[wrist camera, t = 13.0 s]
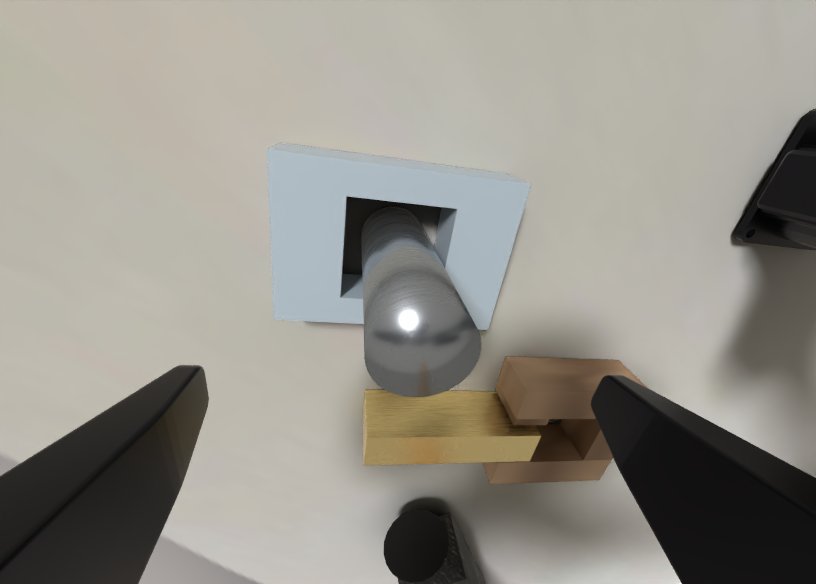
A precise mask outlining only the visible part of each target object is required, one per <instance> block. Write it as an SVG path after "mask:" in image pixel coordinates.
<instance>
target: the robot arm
mask: <svg viewBox="0 0 816 584" xmlns="http://www.w3.org/2000/svg"><path fill="white" fill-rule="evenodd" d="M734 237H735V238H736V239H737V240H740V241H743V242H747V243H756V244H765V245H774V246H783V247H791V248H800V249H809V250H816V109H813V110H811V111H809V112H808V113H807V114H806V115H805V116H804V118H803V119H802V121H801V122H800V124H799V126H798V127H797V129H796V131H795V132H794V134H793V136H792V137H791V139H790V141H789V142H788V144H787V146H786V147H785V149H784V151H783V152H782V154H781V156H780V157H779V159H778V161H777V163H776V164H775V166H774V168H773V169H772V171H771V173H770V174H769V176H768V178H767V179H766V181H765V183H764V184H763V186H762V188H761V189H760V191H759V193H758V194H757V196H756V198H755V199H754V201H753V203H752V204H751V206H750V208H749V209H748V211H747V213H746V214H745V216H744V218H743V219H742V221H741V223H740V224H739V226H738V228H737V229H736V231H735V236H734ZM208 401H209V397H208V390H207V384H206V378H205V372H204V369H203V367H201V366H198V365H179V366H177V367H175V368H173V369H171V370H170V371H168V372H167V373H165V374H163V375H162V376H160V377H159V378H157V379H155V380H154V381H152V382H151V383H149V384H147V385H146V386H144V387H142V388H141V389H139V390H138V391H136V392H134V393H133V394H131V395H130V396H128V397H126V398H125V399H123V400H122V401H120V402H118V403H117V404H115V405H114V406H112V407H110V408H109V409H107V410H106V411H104V412H102V413H101V414H99V415H97V416H96V417H94V418H93V419H91V420H89V421H88V422H86V423H85V424H83V425H81V426H80V427H78V428H77V429H75V430H73V431H72V432H70V433H69V434H67V435H65V436H64V437H62V438H61V439H59V440H57V441H56V442H54V443H52V444H51V445H49V446H48V447H46V448H44V449H43V450H41V451H40V452H38V453H36V454H35V455H33V456H32V457H30V458H28V459H27V460H25V461H24V462H22V463H20V464H19V465H17V466H16V467H14V468H12V469H11V470H9V471H8V472H6V473H4V474H3V475H1V476H0V584H138V583H139V581H140V579H141V576H142V574H143V572H144V570H145V568H146V565H147V563H148V561H149V559H150V556H151V554H152V552H153V550H154V547H155V545H156V543H157V541H158V539H159V536H160V534H161V532H162V530H163V527H164V525H165V523H166V521H167V519H168V516H169V514H170V512H171V510H172V507H173V505H174V503H175V501H176V498H177V496H178V494H179V491H180V489H181V486H182V484H183V481H184V478H185V475H186V472H187V469H188V466H189V463H190V460H191V457H192V454H193V451H194V448H195V445H196V442H197V438H198V435H199V432H200V429H201V426H202V423H203V420H204V417H205V414H206V411H207V407H208ZM591 409H592V411H593V413H594V416H595V418H596V420H597V422H598V425H599V427H600V429H601V431H602V433H603V436H604V438H605V440H606V442H607V445H608V447H609V449H610V451H611V454H612V456H613V458H614V460H615V462H616V464H617V466H618V469H619V471H620V472H621V474H622V476H623V478H624V480H625V482H626V484H627V485H628V487H629V489H630V491H631V493H632V495H633V496H634V498H635V500H636V502H637V504H638V505H639V507H640V509H641V511H642V513H643V514H644V516H645V518H646V520H647V522H648V523H649V525H650V527H651V529H652V531H653V532H654V534H655V536H656V538H657V540H658V541H659V543H660V545H661V547H662V549H663V550H664V552H665V554H666V556H667V558H668V560H669V561H670V563H671V565H672V567H673V569H674V570H675V572H676V574H677V576H678V578H679V579H680V581H681V583H682V584H816V478H815V477H813V476H811V475H809V474H807V473H805V472H803V471H801V470H800V469H798V468H796V467H794V466H792V465H790V464H788V463H786V462H785V461H783V460H781V459H779V458H777V457H775V456H773V455H772V454H770V453H768V452H766V451H764V450H762V449H760V448H758V447H757V446H755V445H753V444H751V443H749V442H747V441H745V440H743V439H742V438H740V437H738V436H736V435H734V434H732V433H730V432H728V431H727V430H725V429H723V428H721V427H719V426H717V425H715V424H713V423H712V422H710V421H708V420H706V419H704V418H702V417H700V416H698V415H697V414H695V413H693V412H691V411H689V410H687V409H685V408H684V407H682V406H680V405H678V404H676V403H674V402H672V401H670V400H669V399H667V398H665V397H663V396H661V395H659V394H657V393H655V392H654V391H652V390H650V389H648V388H646V387H644V386H642V385H640V384H639V383H637V382H635V381H633V380H631V379H629V378H627V377H625V376H623V375H605V376H604V377H603V378H602V379H601V381H600V383H599V385H598V386H597V388H596V390H595V392H594V394H593V396H592V398H591Z"/></svg>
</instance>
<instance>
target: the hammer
mask: <svg viewBox="0 0 816 584" xmlns="http://www.w3.org/2000/svg"><path fill="white" fill-rule="evenodd" d="M384 557H385V560H386V564H387V566H388V568H389V569H390V571H391V572H392V574H394V575H395V576H396V577H398V582H399V584H485V581H484V578H483V576H482V574H481V571H480V569H479V567H478V565H477V563H476V562H475V560H474V558H473V556H472V554H471V551H470V549H469V547H468V545H467V543H466V541H465V539H464V537H463V534H462V533H461V531H460V529H459V527H458V526H457V524H456V522H455V521H454V519H453V517H452V515H451V514H450V513H448V514H445V515H441V516H437V515H435V514H434V513H432V512H430V511H427V510H422V509H417V510H411V511H408V512H406V513H404V514H402V515H401V516H400V517H398V518H397V519H396V520H395V521H394V522H393V524H392V525H391V527H390V528H389V530H388V532H387V535H386V538H385V541H384Z"/></svg>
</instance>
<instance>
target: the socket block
mask: <svg viewBox="0 0 816 584" xmlns="http://www.w3.org/2000/svg"><path fill="white" fill-rule="evenodd" d="M605 375H623V376H625V377H627V378H629V379H631V380H633V381H635V382H637V383H639V384H640V385H642V386H644V387H646V386H645V385H644V384H643V383H642V382H641V381H640V380H639V379H638V378H637V377H636V376H635V375H634V374H633V373H632V372H631V371H629V370H628V369H627V368H626V367H625V366H624V365H623V364H622V363H621V362H620V361H619V360H600V359H570V358H540V357H511V356H506V358H505V361H504V364H503V367H502V370H501V372H500V375H499V378H498V381H497V384H496V387H495V389H496V391H497V393H498V395H499V397H500V399H501V401H502V403H503V405H504V407H505V409H506V411H507V413H508V415H509V417H510V419H511V421H512V423H513V425H536V427H537V429H538V431H539V433H540V434H541V438H540V440H539V442H538V444H537V446H536V449H535V451H534V453H533V455H532V457H531V460H530V461H514V462H482V463H483V466H484V469H485V471H486V474H487V477H488V480H489V483H490V484H508V483H534V482H560V481H586V480H599V479H600V478H601V476H602V474H603V473H604V471H605V470H606V468H607V466H608V465H609V463H610V462H611V460H612V458H613V456H612V454H611V451H610V449H609V447H608V445H607V442H606V440H605V438H604V436H603V433H602V431H601V429H600V427H599V425H598V422H597V420H596V418H595V416H594V413H593V411H592V409H591V398H592V396H593V394H594V392H595V390H596V388H597V386H598V385H599V383H600V381H601V379H602V378H603V377H604V376H605ZM646 388H647V387H646ZM549 419H561V421H560V423H559V424H547V423H548V421H549Z"/></svg>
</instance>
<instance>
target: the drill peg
mask: <svg viewBox="0 0 816 584" xmlns="http://www.w3.org/2000/svg"><path fill="white" fill-rule="evenodd" d="M361 249H362V283H363V318H364V352H365V364H366V367H367V370H368V372H369V374H370V376H371V377H372V379H373V380H374V381H375V382H376V383H377V384H378V385H379V386H381V387H382V388H383V389H385V390H387V391H388V392H391V393H393V394H396V395H400V396H405V397H427V396H432V395H436V394H439V393H442V392H445V391H447V390H449V389H451V388H453V387H454V386H456V385H457V384H459V383H460V382H461V381H463V380H464V379H465V378H466V377H467V376H468V375H469V374H470V372H471V371H472V370H473V368H474V367H475V365H476V363H477V361H478V358H479V355H480V351H481V338H480V334H479V331H478V329H477V327H476V325H475V323H474V321H473V319H472V317H471V315H470V314H469V312H468V310H467V308H466V306H465V304H464V303H463V301H462V299H461V297H460V295H459V293H458V292H457V290H456V288H455V286H454V284H453V282H452V281H451V279H450V277H449V275H448V273H447V271H446V270H445V268H444V266H443V264H442V262H441V260H440V259H439V257H438V255H437V253H436V251H435V249H434V248H433V246H432V244H431V242H430V240H429V238H428V237H427V235H426V233H425V231H424V229H423V227H422V226H421V224H420V222H419V220H418V219H417V218H416V216H415V215H414V214H412V213H411V212H410V211H408V210H406V209H404V208H401V207H393V206H392V207H385V208H382V209H379V210H377V211H375V212H374V213H373V214H372V215H370V216H369V218H368V219H367V220H366V222H365V223H364V226H363V228H362V233H361Z"/></svg>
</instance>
